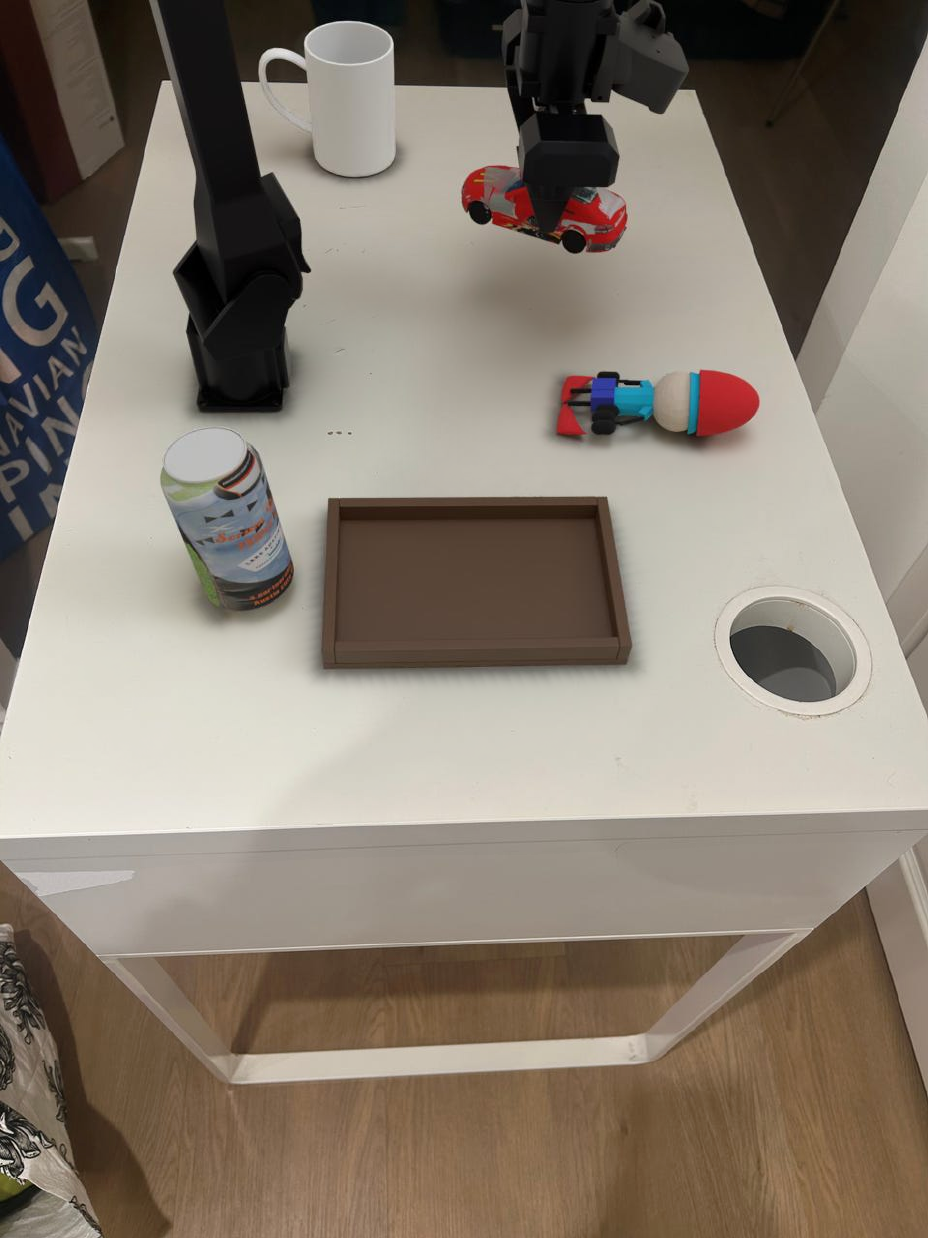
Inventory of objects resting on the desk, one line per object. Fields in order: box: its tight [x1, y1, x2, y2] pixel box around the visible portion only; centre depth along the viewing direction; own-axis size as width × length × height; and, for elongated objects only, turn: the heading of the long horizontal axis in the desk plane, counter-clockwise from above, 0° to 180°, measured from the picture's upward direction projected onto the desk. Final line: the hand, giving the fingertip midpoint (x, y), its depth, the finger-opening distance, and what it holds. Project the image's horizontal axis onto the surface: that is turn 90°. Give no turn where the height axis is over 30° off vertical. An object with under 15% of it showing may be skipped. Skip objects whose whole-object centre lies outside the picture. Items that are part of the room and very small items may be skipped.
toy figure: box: [556, 369, 761, 437], centre depth 75 cm, size 8×5×15 cm
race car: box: [460, 164, 629, 255], centre depth 75 cm, size 13×5×4 cm, turn 64°
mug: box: [258, 20, 397, 178], centre depth 90 cm, size 12×8×10 cm, turn 95°
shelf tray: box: [320, 495, 633, 670], centre depth 65 cm, size 20×13×2 cm, turn 93°
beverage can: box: [159, 425, 295, 612], centre depth 61 cm, size 6×7×12 cm
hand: (542, 205), depth 75 cm, fingers closed on race car, 6 cm apart
